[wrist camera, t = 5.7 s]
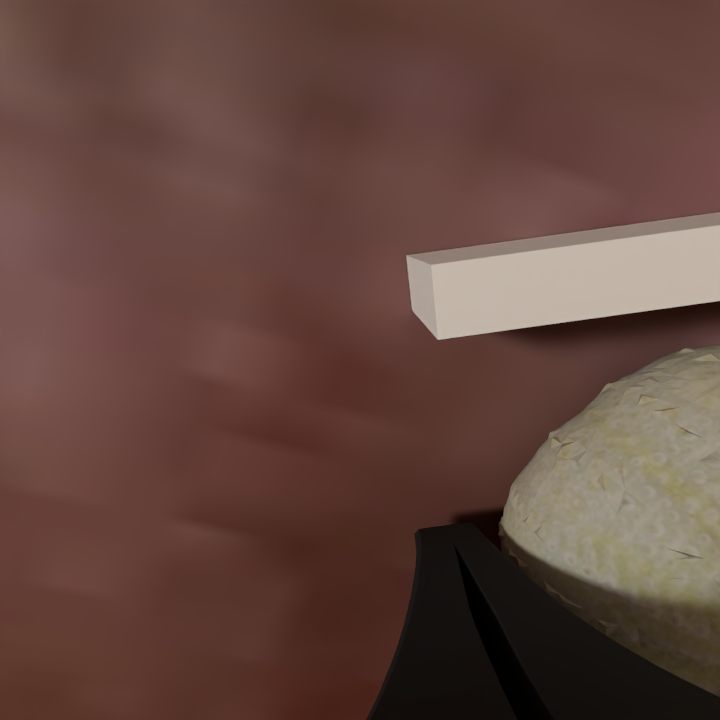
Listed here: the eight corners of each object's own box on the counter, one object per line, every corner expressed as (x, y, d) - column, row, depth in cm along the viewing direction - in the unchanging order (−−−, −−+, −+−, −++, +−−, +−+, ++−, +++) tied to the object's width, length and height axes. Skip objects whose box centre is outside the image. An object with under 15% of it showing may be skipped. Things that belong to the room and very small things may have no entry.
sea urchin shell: (874, 732, 12) (931, 1142, 6) (559, 563, 17) (429, 704, 11) (1052, 382, 10) (1406, 517, 4) (628, 307, 15) (509, 317, 9)
